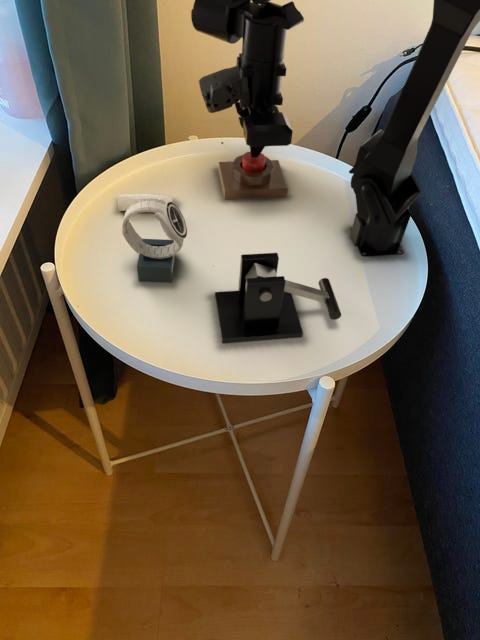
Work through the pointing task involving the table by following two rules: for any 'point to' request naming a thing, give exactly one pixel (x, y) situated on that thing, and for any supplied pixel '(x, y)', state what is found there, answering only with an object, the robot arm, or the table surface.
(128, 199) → the white curved plate
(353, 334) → the table surface
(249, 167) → the button
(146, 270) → the watch
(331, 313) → the lever
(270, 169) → the button block
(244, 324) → the bracket
